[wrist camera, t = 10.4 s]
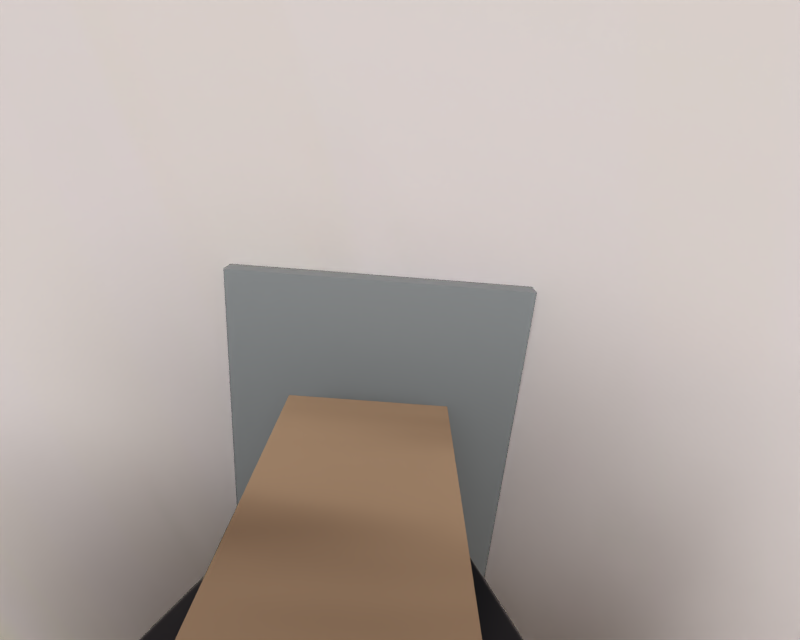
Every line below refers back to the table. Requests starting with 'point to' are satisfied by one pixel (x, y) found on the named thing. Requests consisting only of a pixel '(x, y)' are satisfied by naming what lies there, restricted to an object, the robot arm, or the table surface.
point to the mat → (381, 362)
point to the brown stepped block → (345, 532)
